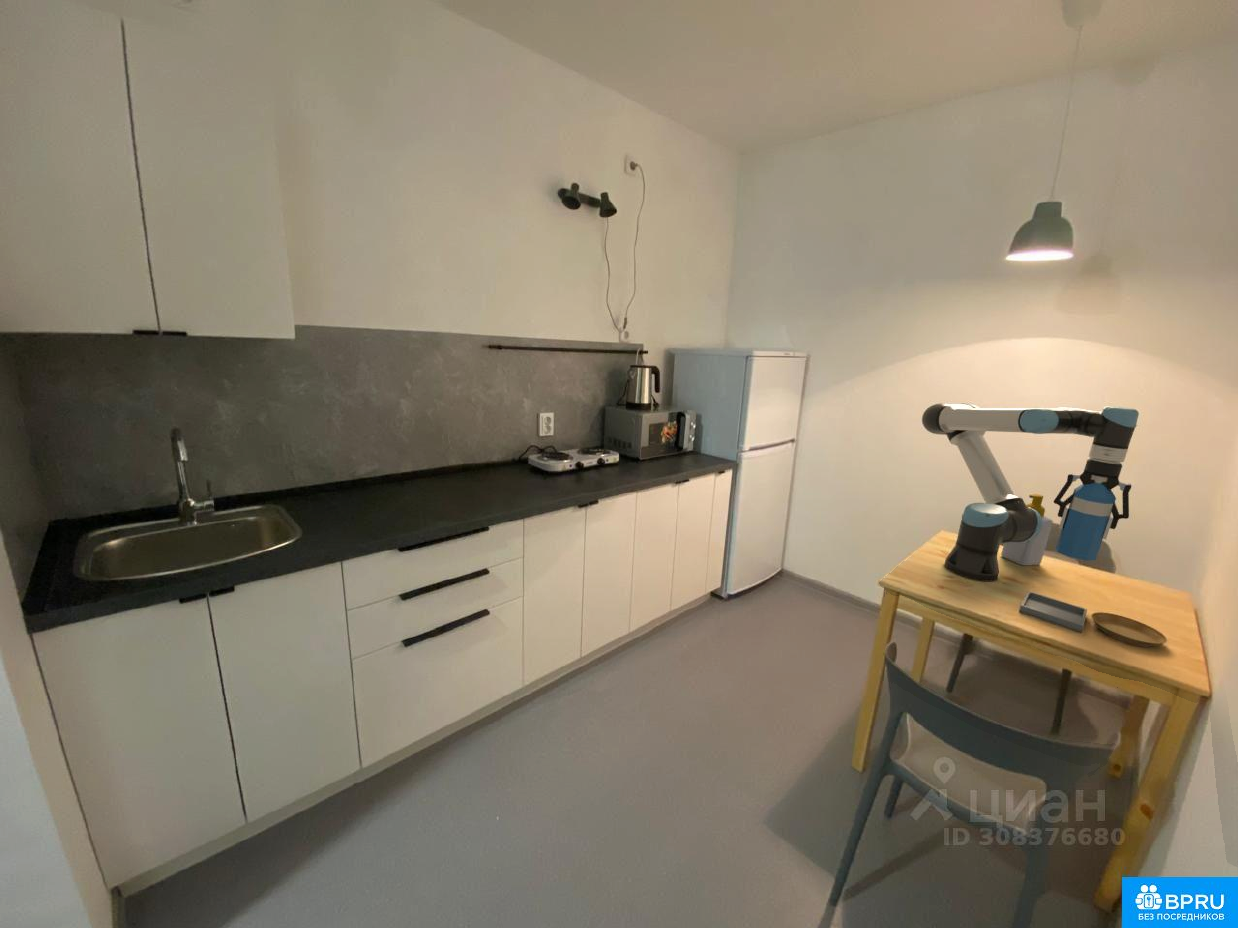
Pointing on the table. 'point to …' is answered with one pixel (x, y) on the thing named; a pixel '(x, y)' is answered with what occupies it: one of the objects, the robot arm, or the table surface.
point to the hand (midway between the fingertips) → (1082, 532)
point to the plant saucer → (1128, 630)
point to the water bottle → (1086, 520)
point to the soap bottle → (1034, 548)
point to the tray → (1054, 611)
